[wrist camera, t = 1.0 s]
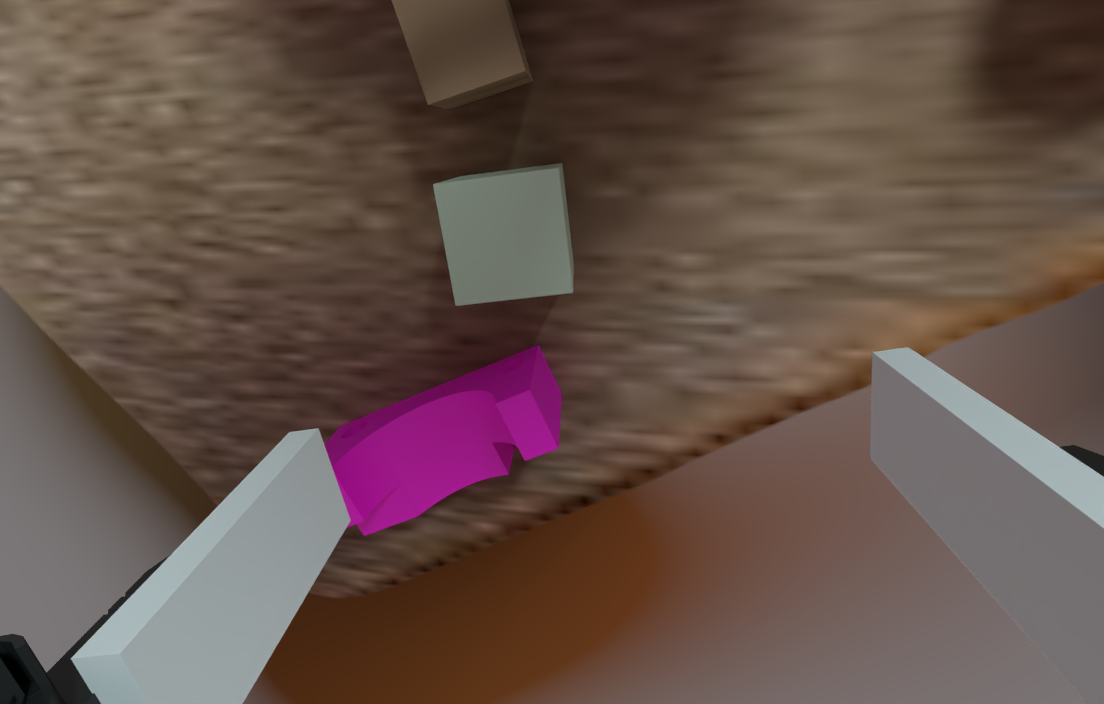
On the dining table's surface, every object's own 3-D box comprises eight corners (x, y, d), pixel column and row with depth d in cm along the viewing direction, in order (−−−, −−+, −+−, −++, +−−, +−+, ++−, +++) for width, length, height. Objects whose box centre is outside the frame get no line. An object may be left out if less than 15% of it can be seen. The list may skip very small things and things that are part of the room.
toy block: (385, 496, 42) (346, 567, 35) (341, 424, 40) (290, 484, 33) (576, 423, 39) (576, 485, 32) (538, 343, 38) (529, 390, 31)
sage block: (460, 176, 34) (432, 184, 28) (562, 163, 34) (558, 167, 27) (477, 276, 36) (455, 305, 30) (573, 265, 36) (573, 292, 29)
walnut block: (416, 14, 32) (388, -8, 27) (504, -18, 31) (491, -47, 26) (449, 110, 33) (427, 104, 28) (533, 81, 32) (525, 71, 28)
